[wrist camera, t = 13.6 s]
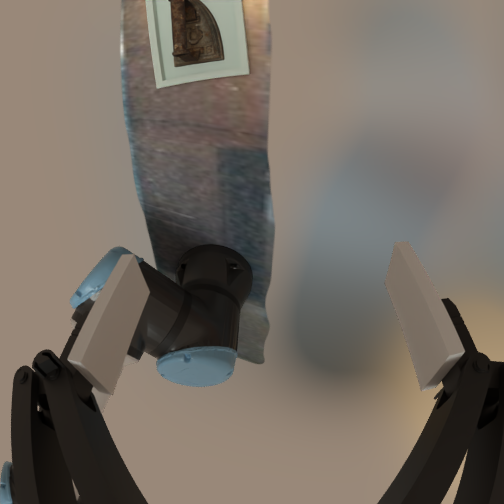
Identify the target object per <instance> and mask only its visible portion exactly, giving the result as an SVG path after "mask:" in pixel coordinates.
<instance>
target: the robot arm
mask: <svg viewBox="0 0 504 504" xmlns="http://www.w3.org/2000/svg"><path fill="white" fill-rule="evenodd" d="M143 260H144V259H143V258H139V257H138V256H136V255H134V254H133V253H131V252H130V251H128V250H127V249H125V248H123V247H115V248H113V249H111V250H110V251H109V252H108V253H107V254H106V255H105V256H104V257H103V258H102V259H101V260H100V262H99V263H98V264H97V265H96V266H95V267H94V269H93V270H92V271H91V272H90V273H89V275H88V276H87V277H86V278H85V280H84V281H83V282H82V284H81V285H80V287H79V288H78V289H77V291H76V292H75V293H74V294H73V296H72V298H71V299H70V304H71V305H72V308H76V310H75V312H74V314H73V316H72V318H71V324H72V328H73V331H72V333H71V336H70V337H69V339H68V342H67V343H66V346H65V348H64V350H63V352H62V354H61V356H60V358H58V357H57V356H56V355H55V354H54V353H53V352H52V351H51V350H43V351H41V352H40V353H38V354H37V355H36V357H35V358H34V361H33V365H32V368H33V369H34V370H35V372H34V371H33V370H32V369H31V368H30V367H28V366H22V367H20V368H19V369H18V370H17V372H16V373H15V376H14V381H13V392H12V409H11V446H12V463H11V462H5V463H4V465H3V469H2V473H1V482H0V483H1V486H0V504H148V503H147V501H146V500H145V498H144V496H143V495H142V493H141V492H140V490H139V488H138V487H137V485H136V483H135V481H134V480H133V478H132V476H131V474H130V473H129V471H128V469H127V467H126V465H125V464H124V461H123V459H122V458H121V456H120V454H119V452H118V450H117V448H116V445H115V444H114V441H113V439H112V437H111V435H110V433H109V430H108V428H107V426H106V423H105V421H104V419H103V416H102V413H103V411H104V409H105V406H106V404H107V402H108V400H109V398H110V396H111V395H113V393H114V390H115V387H116V384H117V381H118V379H119V377H120V374H121V373H122V370H123V368H124V367H125V366H127V365H130V364H134V363H137V362H139V360H140V358H141V356H142V354H143V352H146V353H148V354H150V355H152V356H153V357H155V358H157V359H158V361H157V363H156V365H157V370H158V372H159V373H160V374H161V376H162V377H164V378H165V379H167V380H169V381H171V382H174V383H177V384H181V385H186V386H196V387H205V386H213V385H217V384H220V383H222V382H224V381H226V380H227V379H229V378H230V376H231V375H232V374H233V371H234V366H235V360H236V358H237V345H238V332H239V319H240V309H241V308H242V306H243V304H244V302H245V300H246V299H247V297H248V295H249V293H250V291H251V287H252V271H251V268H250V266H249V264H248V263H247V261H246V260H245V259H244V258H243V257H242V256H241V255H240V254H238V253H237V252H235V251H233V250H231V249H229V248H226V247H223V246H218V245H203V246H198V247H195V248H193V249H191V250H189V251H188V252H186V253H185V254H184V255H183V256H182V258H181V260H180V262H179V264H178V267H177V270H176V283H175V282H173V281H172V280H170V279H169V278H167V277H166V276H165V275H163V274H162V273H160V272H159V271H157V270H156V269H155V268H153V267H152V266H150V265H149V264H148V263H146V262H145V261H143ZM385 286H386V288H387V291H388V293H389V296H390V298H391V301H392V304H393V306H394V309H395V311H396V314H397V317H398V320H399V322H400V325H401V328H402V331H403V334H404V337H405V340H406V342H407V345H408V349H409V352H410V355H411V358H412V361H413V365H414V368H415V371H416V375H417V378H418V382H419V384H420V389H421V391H424V390H428V389H432V388H436V387H437V385H438V384H439V383H440V382H441V381H442V383H443V386H444V387H443V388H442V389H441V390H440V391H439V392H438V393H437V395H436V396H435V397H434V399H437V398H438V399H437V402H436V404H435V406H434V408H433V411H432V413H431V415H430V417H429V419H428V421H427V423H426V425H425V427H424V429H423V431H422V433H421V435H420V437H419V439H418V441H417V443H416V444H415V446H414V448H413V450H412V452H411V453H410V455H409V457H408V459H407V460H406V462H405V464H404V465H403V467H402V468H401V470H400V472H399V473H398V475H397V476H396V478H395V479H394V481H393V482H392V484H391V485H390V487H389V488H388V490H387V491H386V492H385V494H384V495H383V497H382V498H381V499H380V501H379V502H378V504H441V502H442V500H443V499H444V497H445V495H446V493H447V491H448V490H449V488H450V486H451V484H452V482H453V480H454V478H455V476H456V474H457V472H458V470H459V468H460V465H461V463H462V461H463V459H464V457H465V454H466V452H467V456H466V461H465V465H464V470H463V473H462V477H461V480H460V484H459V487H458V491H457V494H456V497H455V500H454V503H453V504H504V362H496V361H490V359H489V358H488V357H487V356H486V355H485V354H483V353H480V352H478V351H477V349H476V347H475V344H474V342H473V340H472V338H471V336H470V333H469V331H468V329H467V327H466V325H465V324H464V321H463V319H462V317H461V316H460V313H459V311H458V309H457V307H456V305H455V304H454V303H453V302H452V301H450V299H449V298H447V299H441V298H440V296H439V295H438V293H437V291H436V289H435V287H434V285H433V283H432V281H431V280H430V278H429V276H428V274H427V272H426V271H425V269H424V267H423V265H422V264H421V262H420V260H419V259H418V257H417V255H416V254H415V252H414V250H413V249H412V247H411V245H410V244H409V242H395V245H394V249H393V253H392V257H391V261H390V265H389V269H388V273H387V276H386V280H385ZM37 405H38V406H39V407H40V408H39V411H37ZM467 449H468V451H467ZM73 483H74V484H75V485H74V484H73ZM79 495H80V496H79Z"/></svg>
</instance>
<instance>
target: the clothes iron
mask: <svg viewBox="0 0 504 504" xmlns="http://www.w3.org/2000/svg"><path fill="white" fill-rule="evenodd" d="M168 1H169V2H170V6H171V23H172V39H173V52H172V55H173V56H174V66H175V67H181V66H187V65H193V64H200V63H207V62H214V61H221V60H224V49H223V43H222V38H221V34H220V30H219V27H218V25H217V22H216V20H215V18H214V16H213V15H212V13H211V12H210V10H209V9H208V8H207V7H206V5H205V4H204V3H202V2H201V1H200V0H168Z"/></svg>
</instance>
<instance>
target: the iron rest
mask: <svg viewBox="0 0 504 504" xmlns="http://www.w3.org/2000/svg"><path fill="white" fill-rule="evenodd" d="M200 1H201V2H202V3H204V4H205V5H206V7H207V8H208V9H209V10H210V12H211V13H212V15H213V16H214V18H215V20H216V22H217V25H218V27H219V30H220V34H221V38H222V43H223V49H224V60H221V61H214V62H207V63H200V64H193V65H187V66H181V67H175V66H174V56H173V55H172V52H173V39H172V23H171V6H170V2H169V1H168V0H146V10H147V20H148V29H149V37H150V45H151V52H152V60H153V67H154V73H155V80H156V86H157V89H158V88H162V87H167V86H172V85H177V84H182V83H187V82H193V81H199V80H205V79H212V78H219V77H227V76H236V75H247V74H250V69H249V59H248V49H247V40H246V30H245V21H244V12H243V3H242V0H200Z"/></svg>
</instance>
